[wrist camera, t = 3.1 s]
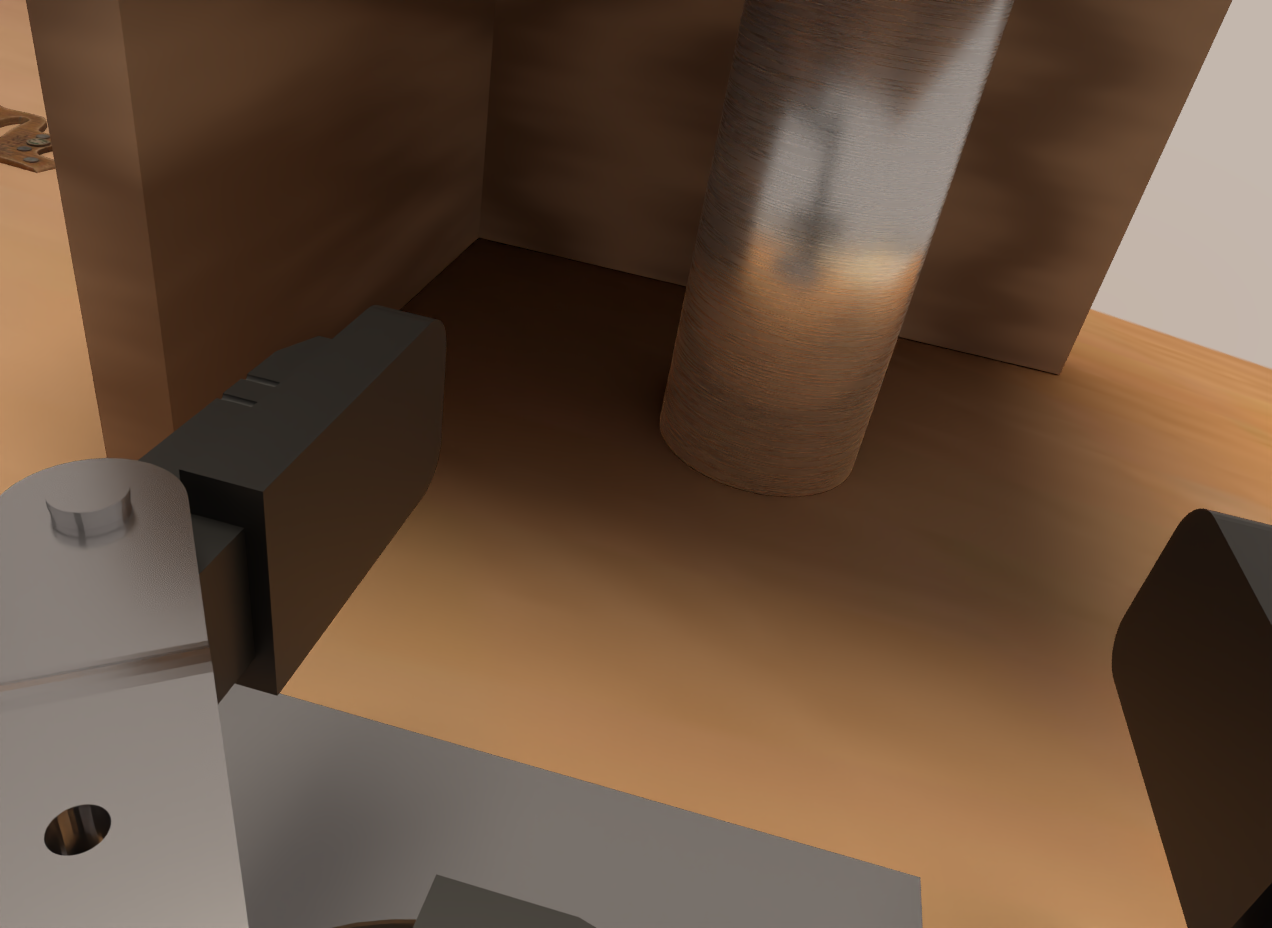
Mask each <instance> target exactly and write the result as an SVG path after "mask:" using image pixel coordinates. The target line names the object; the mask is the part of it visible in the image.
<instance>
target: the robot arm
mask: <svg viewBox="0 0 1272 928" xmlns="http://www.w3.org/2000/svg"><path fill="white" fill-rule="evenodd" d="M445 363H446V331H445V327H444V324H443V323H442V322H441V321H440V320H437V319H433V318H429V317H425V316H420V315H416V314H412V313H408V312H404V311H400V310H396V309H392V308H388V307H384V306H379V305H373V306H371V307H369V308H368V309H367V310H365V311H364V312H363V313H362V314H361V315H360V316H358V317H357V318H356V319H355V320H354V321H352V322H351V323H350V324H349V325H348V326H347V327H345V328H344V329H343V330H342V331H341V332H340V333H338V334H337V335H336V336H335V337H334V338H332V339H330V338H326V337H322V336H317V337H314V338H311V339H308V340H306V341H303V342H300V343H297V344H294V345H292V346H289V347H286V348H283V349H280V350H278V351H276V352H274V353H273V354H272V355H270V356H269V357H268V358H267V359H265V360H264V361H263V362H262V363H260V364H259V365H258V366H257V367H255V368H254V369H253V370H251V371H250V372H249V373H248V374H247V378H246V380H245V379H240V380H239V381H238V382H236V383H235V384H234V385H233V386H231V387H230V388H229V389H227V390H226V391H225V392H224V393H223V396H222V399H219V398H216V399H215V400H214V401H212V402H211V403H210V404H208V405H207V406H206V407H205V408H203V409H202V410H201V411H200V412H198V413H197V414H196V415H195V416H193V417H192V418H191V419H190V420H188V421H187V422H186V423H184V424H183V425H182V426H181V427H179V428H178V429H177V430H176V431H174V432H173V433H172V434H171V435H169V436H168V437H167V438H165V439H164V440H163V441H162V442H160V443H159V444H158V445H157V446H155V447H154V448H153V449H152V450H150V451H149V452H148V453H147V454H145V455H144V456H143V457H141V458H140V459H139V460H130V459H119V458H101V459H88V460H81V461H74V462H69V463H65V464H61V465H57V466H54V467H51V468H47V469H44V470H42V471H39V472H37V473H35V474H32V475H30V476H28V477H26V478H24V479H22V480H21V481H19V482H17V483H15V484H14V485H13V486H11V487H10V488H9V489H7V490H6V491H5V492H3V493H2V494H1V496H0V928H249V926H248V919H247V911H246V904H245V897H244V890H243V883H242V875H241V868H240V861H239V854H238V847H237V839H236V832H235V825H234V818H233V811H232V803H231V796H230V789H229V782H228V775H227V767H226V760H225V753H224V746H223V738H222V731H221V724H220V717H219V710H218V704H219V703H220V701H221V700H222V699H223V698H224V696H225V695H226V694H227V693H228V691H229V690H230V689H231V688H232V686H233V685H234V684H238V685H241V686H245V687H248V688H252V689H255V690H259V691H262V692H266V693H269V694H273V695H276V696H278V694H279V693H280V692H281V690H282V689H283V687H284V686H285V685H286V683H287V682H288V681H289V679H290V678H291V676H292V675H293V674H294V672H295V671H296V670H297V668H298V667H299V666H300V664H301V663H302V661H303V660H304V659H305V657H306V656H307V655H308V653H309V652H310V650H311V649H312V648H313V646H314V645H315V644H316V642H317V641H318V640H319V638H320V637H321V635H322V634H323V633H324V631H325V630H326V629H327V627H328V626H329V624H330V623H331V622H332V620H333V619H334V618H335V616H336V615H337V613H338V612H339V611H340V609H341V608H342V607H343V605H344V604H345V603H346V601H347V600H348V598H349V597H350V596H351V594H352V593H353V592H354V590H355V589H356V587H357V586H358V585H359V583H360V582H361V581H362V579H363V578H364V577H365V575H366V574H367V572H368V571H369V570H370V568H371V567H372V566H373V564H374V563H375V561H376V560H377V559H378V557H379V556H380V555H381V553H382V552H383V550H384V549H385V548H386V546H387V545H388V544H389V542H390V541H391V540H392V538H393V537H394V535H395V534H396V533H397V531H398V530H399V529H400V527H401V526H402V524H403V523H404V522H405V520H406V519H407V518H408V516H409V515H410V514H411V512H412V511H413V509H414V508H415V507H416V505H417V504H418V503H419V501H420V500H421V498H422V497H423V496H424V494H425V493H426V491H427V489H428V487H429V485H430V483H431V480H432V478H433V475H434V472H435V469H436V466H437V462H438V458H439V453H440V447H441V436H442V418H443V399H444V381H445ZM1112 673H1113V678H1114V682H1115V685H1116V689H1117V692H1118V695H1119V699H1120V702H1121V706H1122V709H1123V712H1124V716H1125V719H1126V722H1127V726H1128V729H1129V732H1130V736H1131V739H1132V742H1133V746H1134V749H1135V753H1136V756H1137V759H1138V763H1139V766H1140V769H1141V773H1142V776H1143V779H1144V783H1145V786H1146V789H1147V793H1148V796H1149V799H1150V803H1151V806H1152V810H1153V813H1154V816H1155V820H1156V823H1157V826H1158V830H1159V833H1160V836H1161V840H1162V843H1163V846H1164V850H1165V853H1166V857H1167V860H1168V863H1169V867H1170V870H1171V873H1172V877H1173V880H1174V883H1175V887H1176V890H1177V893H1178V897H1179V900H1180V904H1181V907H1182V910H1183V914H1184V917H1185V920H1186V924H1187V927H1188V928H1272V525H1268V524H1264V523H1260V522H1256V521H1252V520H1248V519H1244V518H1240V517H1236V516H1232V515H1228V514H1223V513H1219V512H1215V511H1211V510H1207V509H1196V510H1194V511H1192V512H1190V513H1189V514H1188V515H1187V516H1185V517H1184V519H1183V520H1182V521H1181V522H1180V523H1179V525H1178V526H1177V528H1176V530H1175V531H1174V533H1173V535H1172V536H1171V538H1170V540H1169V541H1168V543H1167V545H1166V546H1165V548H1164V550H1163V551H1162V553H1161V555H1160V556H1159V558H1158V560H1157V561H1156V563H1155V565H1154V567H1153V568H1152V570H1151V572H1150V573H1149V575H1148V577H1147V578H1146V580H1145V582H1144V583H1143V585H1142V587H1141V588H1140V590H1139V592H1138V593H1137V595H1136V597H1135V598H1134V600H1133V602H1132V604H1131V605H1130V607H1129V609H1128V610H1127V612H1126V614H1125V615H1124V617H1123V619H1122V621H1121V623H1120V625H1119V628H1118V631H1117V634H1116V637H1115V641H1114V646H1113V652H1112ZM332 928H596V927H594V926H593V925H591V924H589V923H588V922H586V921H584V920H583V919H581V918H579V917H577V916H574V915H570V914H567V913H564V912H560V911H557V910H554V909H550V908H547V907H544V906H540V905H537V904H534V903H530V902H527V901H524V900H520V899H517V898H514V897H510V896H507V895H504V894H500V893H497V892H494V891H490V890H487V889H484V888H480V887H477V886H474V885H470V884H467V883H464V882H460V881H457V880H454V879H450V878H447V877H444V876H440V875H437V874H436V876H435V879H434V881H433V883H432V885H431V888H430V890H429V892H428V894H427V897H426V899H425V901H424V904H423V906H422V908H421V910H420V913H419V915H418V917H417V919H389V920H378V921H367V922H357V923H351V924H347V925H342V926H337V927H332Z"/></svg>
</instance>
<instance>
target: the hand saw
mask: <svg viewBox="0 0 1272 928" xmlns="http://www.w3.org/2000/svg"><path fill="white" fill-rule="evenodd" d="M12 124H21V125H19V126H17V127H15V128H13V129H11V130H9V131H8V132H6V133H5V134H4V135H3V136H1V137H0V163H4V164H7V165H11V166H15V167H18V168H22V169H25V170H29V171H32V172H36V173H39V172H43V171H47V170H51V169H55V168H56V167H55V161H54V160H53V159H50V158H47V157H44V156H40V155H41V154H43V153H47V152H51V151H53V150H52V144H51V139H50V134H46V133H42V132H43V131H45V129H46V128H47V123H46V119H45V118H44V117H41V116H38V115H34V114H30V113H25V112H21V111H16V110H11V109H7V108H4V107H2V106H0V127H4V126H7V125H12Z"/></svg>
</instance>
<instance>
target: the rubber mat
mask: <svg viewBox="0 0 1272 928" xmlns="http://www.w3.org/2000/svg"><path fill="white" fill-rule="evenodd" d="M218 710H219V717H220V724H221V731H222V738H223V746H224V753H225V760H226V767H227V775H228V782H229V789H230V796H231V803H232V811H233V818H234V825H235V832H236V839H237V847H238V854H239V861H240V868H241V875H242V883H243V890H244V897H245V904H246V911H247V919H248V926H249V928H332V927H337V926H342V925H347V924H351V923H357V922H367V921H378V920H389V919H417V917H418V915H419V913H420V910H421V908H422V906H423V904H424V901H425V899H426V897H427V894H428V892H429V890H430V888H431V885H432V883H433V881H434V879H435V876H436V874H437V875H440V876H444V877H447V878H450V879H454V880H457V881H460V882H464V883H467V884H470V885H474V886H477V887H480V888H484V889H487V890H490V891H494V892H497V893H500V894H504V895H507V896H510V897H514V898H517V899H520V900H524V901H527V902H530V903H534V904H537V905H540V906H544V907H547V908H550V909H554V910H557V911H560V912H564V913H567V914H570V915H574V916H577V917H579V918H581V919H583V920H584V921H586V922H588V923H589V924H591V925H593V926H594V927H596V928H923V927H922V905H921V883H920V877H917V876H913V875H910V874H906V873H903V872H899V871H896V870H892V869H889V868H885V867H882V866H879V865H875V864H872V863H868V862H865V861H861V860H858V859H854V858H851V857H847V856H844V855H840V854H837V853H833V852H830V851H826V850H823V849H819V848H816V847H812V846H809V845H805V844H802V843H798V842H795V841H791V840H788V839H785V838H781V837H778V836H774V835H771V834H767V833H764V832H760V831H757V830H753V829H750V828H746V827H743V826H739V825H736V824H732V823H729V822H725V821H722V820H718V819H715V818H711V817H708V816H704V815H701V814H698V813H694V812H691V811H687V810H684V809H680V808H677V807H673V806H670V805H666V804H663V803H659V802H656V801H652V800H649V799H645V798H642V797H638V796H635V795H631V794H628V793H624V792H621V791H617V790H614V789H610V788H607V787H604V786H600V785H597V784H593V783H590V782H586V781H583V780H579V779H576V778H572V777H569V776H565V775H562V774H558V773H555V772H551V771H548V770H544V769H541V768H537V767H534V766H530V765H527V764H523V763H520V762H516V761H513V760H510V759H506V758H503V757H499V756H496V755H492V754H489V753H485V752H482V751H478V750H475V749H471V748H468V747H464V746H461V745H457V744H454V743H450V742H447V741H443V740H440V739H436V738H433V737H429V736H426V735H423V734H419V733H416V732H412V731H409V730H405V729H402V728H398V727H395V726H391V725H388V724H384V723H381V722H377V721H374V720H370V719H367V718H363V717H360V716H356V715H353V714H349V713H346V712H342V711H339V710H335V709H332V708H329V707H325V706H322V705H318V704H315V703H311V702H308V701H304V700H301V699H297V698H294V697H290V696H287V695H283V694H280V693H279V694H278V696H276V695H273V694H269V693H266V692H262V691H259V690H255V689H252V688H248V687H245V686H241V685H238V684H234V685H233V686H232V688H231V689H230V690H229V691H228V693H227V694H226V695H225V696H224V698H223V699H222V700H221V701H220V703H219V704H218Z"/></svg>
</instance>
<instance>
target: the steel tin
mask: <svg viewBox="0 0 1272 928" xmlns="http://www.w3.org/2000/svg"><path fill="white" fill-rule="evenodd" d="M1013 3H1014V0H745V1H744V6H743V11H742V16H741V21H740V26H739V30H738V35H737V40H736V45H735V50H734V55H733V60H732V65H731V70H730V75H729V80H728V85H727V90H726V95H725V100H724V104H723V109H722V114H721V119H720V124H719V129H718V134H717V139H716V144H715V149H714V154H713V159H712V164H711V169H710V173H709V178H708V183H707V188H706V193H705V198H704V203H703V208H702V213H701V218H700V223H699V228H698V233H697V238H696V243H695V247H694V252H693V257H692V262H691V267H690V272H689V277H688V282H687V287H686V292H685V297H684V302H683V307H682V312H681V317H680V321H679V326H678V331H677V336H676V341H675V346H674V351H673V356H672V361H671V366H670V371H669V376H668V381H667V386H666V390H665V395H664V400H663V405H662V410H661V415H660V420H659V423H660V431H661V434H662V437H663V439H664V441H665V442H666V444H667V445H668V447H669V448H670V449H671V450H672V451H673V452H674V454H675V455H676V456H677V457H679V458H680V459H681V460H682V461H683V462H685V463H686V464H687V465H689V466H690V467H692V468H693V469H695V470H696V471H698V472H700V473H701V474H703V475H705V476H707V477H709V478H711V479H713V480H716V481H718V482H720V483H723V484H726V485H728V486H731V487H734V488H737V489H741V490H744V491H749V492H753V493H758V494H764V495H771V496H784V497H793V496H807V495H814V494H818V493H822V492H825V491H828V490H831V489H833V488H835V487H837V486H838V485H840V484H841V483H842V482H844V481H845V480H846V479H847V477H848V476H849V475H850V473H851V471H852V469H853V466H854V463H855V460H856V457H857V454H858V452H859V449H860V446H861V443H862V440H863V437H864V434H865V431H866V428H867V426H868V423H869V420H870V417H871V414H872V411H873V408H874V405H875V402H876V399H877V397H878V394H879V391H880V388H881V385H882V382H883V379H884V376H885V373H886V371H887V368H888V365H889V362H890V359H891V356H892V353H893V350H894V347H895V344H896V342H897V339H898V336H899V333H900V330H901V327H902V324H903V321H904V318H905V316H906V313H907V310H908V307H909V304H910V301H911V298H912V295H913V292H914V290H915V287H916V284H917V281H918V278H919V275H920V272H921V269H922V266H923V263H924V261H925V258H926V255H927V252H928V249H929V246H930V243H931V240H932V237H933V235H934V232H935V229H936V226H937V223H938V220H939V217H940V214H941V211H942V208H943V206H944V203H945V200H946V197H947V194H948V191H949V188H950V185H951V182H952V180H953V177H954V174H955V171H956V168H957V165H958V162H959V159H960V156H961V154H962V151H963V148H964V145H965V142H966V139H967V136H968V133H969V130H970V127H971V125H972V122H973V119H974V116H975V113H976V110H977V107H978V104H979V101H980V99H981V96H982V93H983V90H984V87H985V84H986V81H987V78H988V75H989V73H990V70H991V67H992V64H993V61H994V58H995V55H996V52H997V49H998V46H999V44H1000V41H1001V38H1002V35H1003V32H1004V29H1005V26H1006V23H1007V20H1008V18H1009V15H1010V12H1011V9H1012V6H1013Z"/></svg>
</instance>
